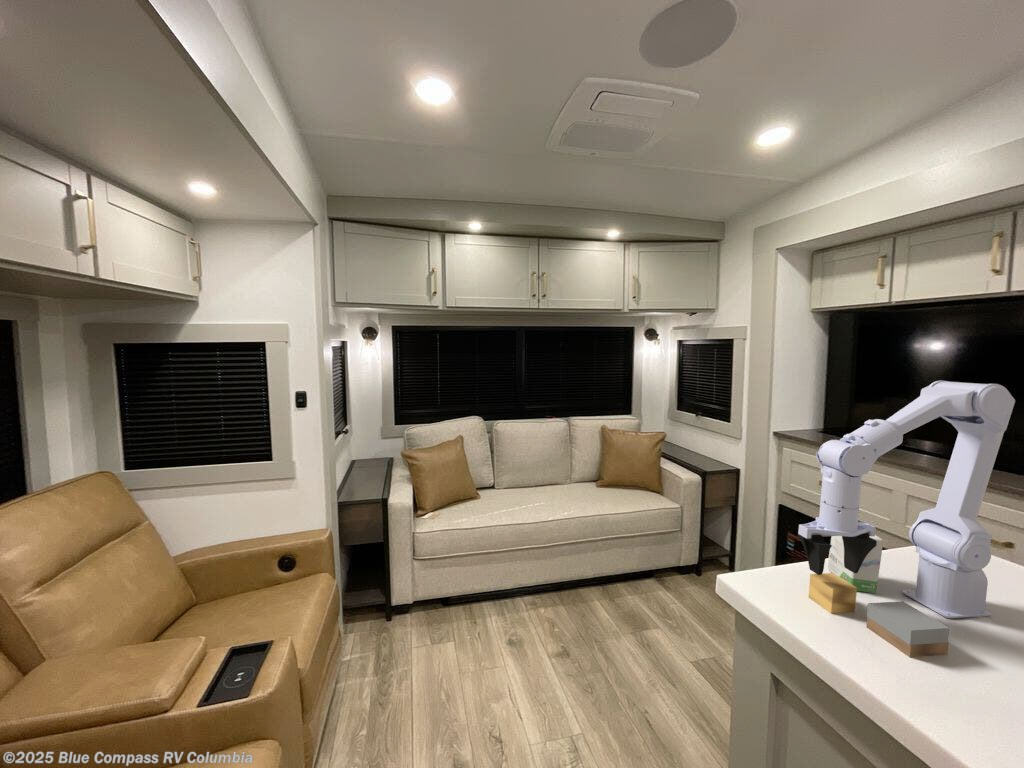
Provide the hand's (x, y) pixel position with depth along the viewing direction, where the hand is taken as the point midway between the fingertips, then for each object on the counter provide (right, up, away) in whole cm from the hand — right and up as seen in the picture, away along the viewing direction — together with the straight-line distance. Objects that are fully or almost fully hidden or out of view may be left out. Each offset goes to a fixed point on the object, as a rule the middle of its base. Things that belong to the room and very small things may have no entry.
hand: (833, 571), depth 77 cm
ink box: (+11, -7, +9) cm, 16 cm away
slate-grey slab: (+5, -6, -9) cm, 12 cm away
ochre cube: (0, -7, +1) cm, 7 cm away
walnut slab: (+5, -8, -9) cm, 13 cm away
